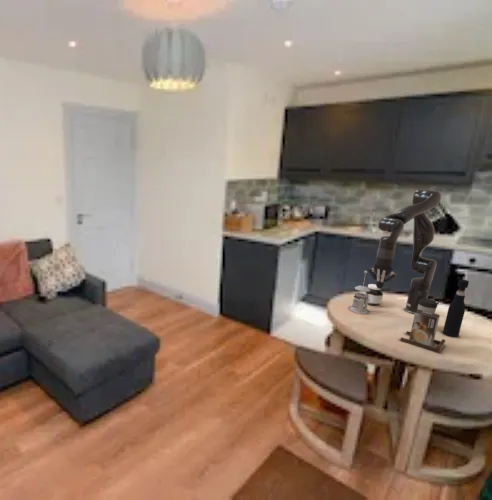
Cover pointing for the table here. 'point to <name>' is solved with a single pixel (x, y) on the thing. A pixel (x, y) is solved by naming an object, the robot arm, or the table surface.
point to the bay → (438, 349)
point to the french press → (359, 304)
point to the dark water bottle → (456, 311)
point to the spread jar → (374, 295)
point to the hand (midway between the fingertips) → (379, 288)
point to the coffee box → (424, 327)
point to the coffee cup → (427, 305)
